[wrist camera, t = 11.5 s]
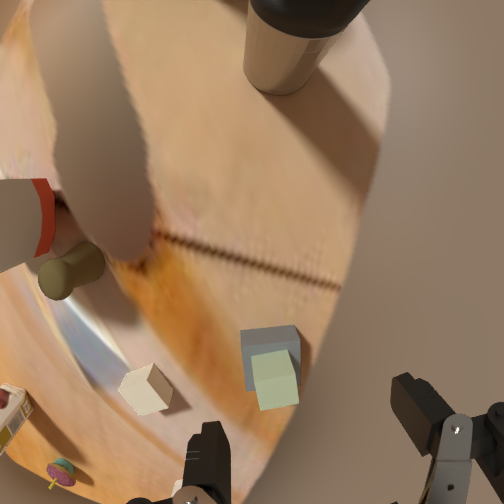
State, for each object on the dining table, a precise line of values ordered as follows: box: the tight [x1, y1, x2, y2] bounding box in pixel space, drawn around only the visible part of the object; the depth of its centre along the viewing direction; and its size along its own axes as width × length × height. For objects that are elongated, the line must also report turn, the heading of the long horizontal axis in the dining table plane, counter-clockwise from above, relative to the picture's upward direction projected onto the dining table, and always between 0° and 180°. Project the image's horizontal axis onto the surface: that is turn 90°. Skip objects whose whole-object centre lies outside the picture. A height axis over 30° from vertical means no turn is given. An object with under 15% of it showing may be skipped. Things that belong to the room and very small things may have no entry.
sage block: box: [251, 350, 299, 411], centre depth 37 cm, size 5×5×6 cm
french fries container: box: [0, 178, 55, 273], centre depth 29 cm, size 5×11×18 cm, turn 177°
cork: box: [38, 242, 105, 301], centre depth 34 cm, size 6×6×11 cm
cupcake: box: [47, 458, 76, 490], centre depth 44 cm, size 9×8×12 cm
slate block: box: [240, 325, 301, 391], centre depth 42 cm, size 8×8×5 cm
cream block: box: [118, 363, 174, 416], centre depth 42 cm, size 6×6×5 cm
